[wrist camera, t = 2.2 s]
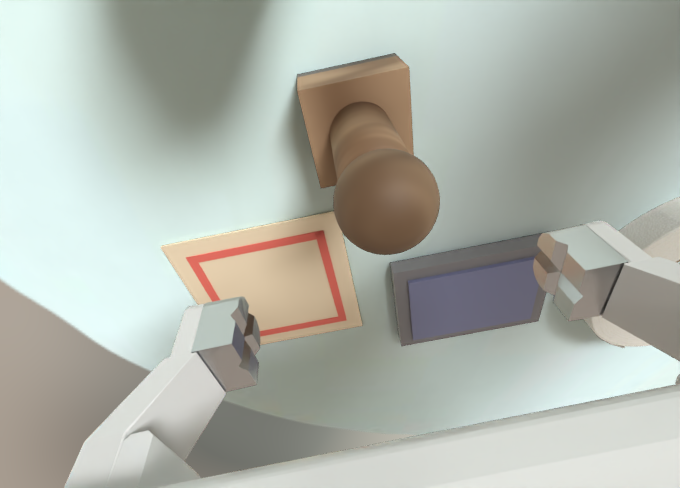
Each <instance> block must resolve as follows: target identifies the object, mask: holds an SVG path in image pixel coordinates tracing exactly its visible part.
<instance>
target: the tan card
mask: <svg viewBox="0 0 680 488" xmlns="http://www.w3.org/2000/svg"><path fill="white" fill-rule="evenodd" d="M161 249H162V250H163V252H164V253H165V255H166V256H167V258H168V260H169V261H170V263H171V264H172V266H173V267H174V269H175V270H176V272H177V273H178V275H179V276H180V278H181V280H182V281H183V283H184V284H185V286H186V287H187V289H188V290H189V292H190V293H191V295H192V296H193V298H194V300H195V301H196V303H197V304H198V305H199V304H205V303H208V302H213V301H219V300H224V299H230V298H235V297H240V296H242V297H245V299H246V301H247V303H248V305H249V309H248V313H250V314H252V315H253V316H255V318H256V321H257V323H258V326H259V331H260V345H263V344H268V343H273V342H279V341H284V340H289V339H295V338H300V337H306V336H311V335H316V334H322V333H327V332H332V331H338V330H343V329H348V328H354V327H359V326H363V325H362V320H361V316H360V311H359V307H358V302H357V297H356V293H355V288H354V284H353V279H352V275H351V270H350V266H349V261H348V256H347V252H346V247H345V243H344V238H343V234H342V231H341V229H340V227H339V225H338V223H337V221H336V217H335V214H334V211H332V212H327V213H322V214H317V215H312V216H307V217H302V218H297V219H292V220H287V221H282V222H277V223H272V224H267V225H262V226H257V227H252V228H247V229H242V230H237V231H232V232H227V233H222V234H217V235H212V236H207V237H202V238H197V239H192V240H187V241H182V242H177V243H172V244H167V245H162V246H161Z"/></svg>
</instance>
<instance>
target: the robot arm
mask: <svg viewBox="0 0 680 488" xmlns="http://www.w3.org/2000/svg"><path fill="white" fill-rule="evenodd" d="M537 246H538V247H539V248H540V249H541V251H540V252H539V253H538V254H537V255H536V257H535V258H534V264H533V270H534V275H535V278H536V280H537V282H538V284H539V285H540V286H541V288H542V289H543V290H544V291H546V292H548V293H550V294H553V295H554V300H553V303H554V304H555V305H556V307H557V308H558V309H559V310H560V312H561V313H562V314H563V315H564V317H565V318H566V319H567V320H568V321H574V320H579V319H585V318H591V317H596V316H602V318H604V319H606V320H607V321H609V322H611V323H613V324H615V325H616V326H618V327H620V328H622V329H623V330H625V331H627V332H629V333H630V334H632V335H634V336H636V337H638V338H639V339H641V340H643V341H645V342H646V343H648V344H650V345H652V346H654V347H655V348H657V349H659V350H661V351H662V352H664V353H666V354H668V355H669V356H671V357H673V358H675V359H677V360H678V361H680V263H677V262H674V261H671V260H667V259H664V258H661V257H654V258H652V257H650V256H649V255H648V254H647V253H645V252H644V251H643V250H641V249H640V248H639V247H638V246H636V245H635V244H634V243H633V242H631V241H630V240H629V239H627V238H626V237H625V236H624V235H622V234H621V233H620V232H618V231H617V230H616V229H615V228H613V227H612V226H611V225H610V224H608V223H607V222H604V221H601V220H599V221H594V222H590V223H585V224H581V225H578V226H573V227H568V228H564V229H559V230H554V231H550V232H545V233H542V234H541V235H540V237H539V239H538V243H537ZM248 309H249V305H248V303H247V301H246V299H245V297H242V296H240V297H235V298H230V299H224V300H219V301H213V302H208V303H205V304H199V305H194V306H189V307H188V308H187V309H186V310H185V311H184V314H183V317H182V320H181V323H180V326H179V329H178V333H177V336H176V339H175V342H174V345H173V348H172V351H171V354H170V357H169V358H165V359H163V360H162V361H161V362H160V363H159V364H158V365H157V367H156V368H155V369H154V370H153V371H152V372H151V373H150V374H149V375H148V376H147V377H146V378H145V379H144V380H143V381H142V382H141V383H140V384H139V386H137V387H136V389H134V391H133V392H132V393H131V394H130V395H129V396H128V397H127V398H126V399H125V400H124V401H123V402H122V403H121V404H120V405H119V406H118V407H117V408H116V409H115V410H114V411H113V412H112V413H111V415H110V416H109V417H108V418H107V419H106V420H105V421H104V422H103V423H102V424H101V425H100V426H99V427H98V428H97V429H96V430H95V431H94V432H93V433H92V434H91V436H89V437H88V439H87V440H86V441H85V442H84V444H83V446H82V449H81V451H80V453H79V455H78V457H77V460H76V462H75V464H74V467H73V469H72V471H71V473H70V476H69V478H68V480H67V482H66V484H65V487H64V488H680V374H679V375H678V377H677V379H676V385H671V386H666V387H661V388H656V389H651V390H646V391H641V392H636V393H630V394H625V395H620V396H615V397H610V398H605V399H600V400H595V401H590V402H585V403H580V404H575V405H569V406H564V407H559V408H554V409H549V410H544V411H539V412H534V413H529V414H524V415H519V416H514V417H508V418H503V419H498V420H493V421H488V422H483V423H478V424H473V425H468V426H463V427H458V428H453V429H448V430H443V431H438V432H433V433H427V434H422V435H417V436H412V437H407V438H403V439H398V440H392V441H387V442H382V443H377V444H372V445H367V446H362V447H357V448H352V449H347V450H342V451H337V452H332V453H326V454H321V455H316V456H311V457H306V458H301V459H297V460H291V461H287V462H281V463H276V464H271V465H266V466H261V467H256V468H251V469H246V470H241V471H236V472H231V473H226V474H220V475H215V476H211V477H205V478H201V477H200V476H199V475H198V473H197V472H196V471H195V470H193V469H192V468H191V467H190V466H189V465H188V464H187V463H185V462H184V461H185V460H186V458H187V456H188V455H189V453H190V451H191V450H192V448H193V447H194V445H195V443H196V442H197V440H198V438H199V437H200V435H201V434H202V432H203V431H204V429H205V427H206V426H207V424H208V422H209V421H210V419H211V417H212V416H213V414H214V413H215V411H216V410H217V407H218V406H219V405H220V403H221V401H222V400H223V398H224V397H225V395H226V392H228V391H232V390H236V389H241V388H245V387H249V386H254V385H257V377H258V366H259V362H258V360H257V359H256V357H255V355H256V353H257V352H258V351H259V349H260V331H259V326H258V323H257V321H256V318H255V316H253V315H252V314H250V313H248Z"/></svg>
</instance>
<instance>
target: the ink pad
mask: <svg viewBox="0 0 680 488" xmlns="http://www.w3.org/2000/svg"><path fill="white" fill-rule="evenodd" d="M541 234H542V233H541ZM541 234H536V235H531V236H526V237H521V238H515V239H510V240H505V241H500V242H495V243H490V244H484V245H479V246H474V247H469V248H464V249H459V250H453V251H448V252H443V253H438V254H433V255H427V256H422V257H417V258H412V259H407V260H402V261H396V262H391V263H390V268H391V276H392V284H393V293H394V301H395V309H396V317H397V326H398V334H399V338H400V342H401V346H405V345H411V344H416V343H422V342H427V341H433V340H438V339H444V338H449V337H455V336H460V335H465V334H471V333H476V332H482V331H487V330H493V329H498V328H504V327H509V326H515V325H520V324H525V323H531V322H536V321H539V317H540V313H541V310H542V306H543V302H544V299H545V295H546V291H544V290H543V289H542V288H541V286H540V285H539V284H538V282H537V280H536V278H535V275H534V270H533V264H534V258H535V257H536V255H537V254H538V253H539V252H540V251H541V249H540V248H539V247H538V246H537V243H538V239H539V237H540V235H541Z"/></svg>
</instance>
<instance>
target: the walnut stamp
mask: <svg viewBox="0 0 680 488" xmlns="http://www.w3.org/2000/svg"><path fill="white" fill-rule="evenodd" d="M297 92H298V97H299V101H300V105H301V109H302V113H303V117H304V121H305V125H306V129H307V133H308V138H309V142H310V146H311V150H312V154H313V158H314V162H315V166H316V170H317V175H318V179H319V183H320V187H321V188H325V187H330V186H335V185H336V187H335V191H334V197H333V208H334V214H335V217H336V221H337V223H338V225H339V227H340V229H341V231H342V232H343V234H344V235H345V236H346V237H347V238H348V239H349V240H350V241H351V242H352V243H353V244H354V245H356V246H357V247H359V248H361V249H363V250H365V251H367V252H371V253H374V254H380V255H391V254H397V253H401V252H404V251H407V250H409V249H411V248H412V247H414V246H416V245H417V244H419V243H420V242H421V241H422V240H423V239H424V238H425V237H426V236H427V235H428V234H429V232H430V231H431V229H432V228H433V226H434V224H435V222H436V219H437V216H438V212H439V205H440V196H439V190H438V186H437V183H436V180H435V178H434V176H433V174H432V173H431V171H430V170H429V168H428V167H427V166H426V165H425V164H424V163H423V162H422V161H421V160H420V159H418V158H417V157H415V156H414V154H413V135H412V115H411V95H410V75H409V66H408V65H406V64H405V63H404V62H403V61H402V60H401V59H400V58H399V57H398V56H397V55H396V54H395V53H393V54H389V55H384V56H380V57H375V58H370V59H366V60H361V61H357V62H352V63H347V64H343V65H338V66H334V67H329V68H324V69H320V70H315V71H311V72H306V73H301V74H297Z"/></svg>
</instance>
